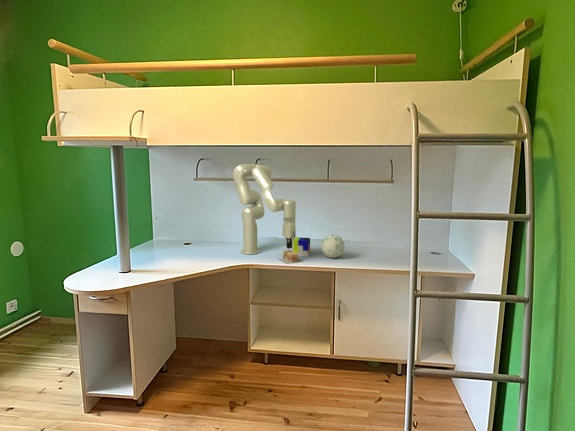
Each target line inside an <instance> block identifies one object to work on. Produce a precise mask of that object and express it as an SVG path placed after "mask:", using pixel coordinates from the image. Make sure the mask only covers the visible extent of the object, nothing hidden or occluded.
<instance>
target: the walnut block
mask: <svg viewBox="0 0 575 431" xmlns="http://www.w3.org/2000/svg"><path fill="white" fill-rule="evenodd" d="M282 259H286V260H287V261H289V262H291V263H290V264H293V263H292V262H297V263H299V262H298V259H299V255H298V253H296V252H294V251H293V250H292V249H288V250H287V249H286V250H285V249H284V250H283V251H282Z"/></svg>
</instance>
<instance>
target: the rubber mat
mask: <svg viewBox="0 0 575 431" xmlns="http://www.w3.org/2000/svg"><path fill="white" fill-rule="evenodd" d="M278 260H279V261H280V262H282V263H284V264H286V265H289V264H295V263H303V262H305V260H302V259H301V258H298V262H292V263H291V262H289V261H287V260H286V259H284V258H279V259H278Z"/></svg>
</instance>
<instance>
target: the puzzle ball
mask: <svg viewBox="0 0 575 431" xmlns="http://www.w3.org/2000/svg"><path fill="white" fill-rule="evenodd" d="M320 246H321V251H322V253H323V254H324V255H325V256H326V257H328V258H331V259H335V258H338V257H339V256H341V255H342V254H343V253H344V251H345V242H344V240H343V239H342V237H341V236H339V235H338V234H329V235H326V236H325V237H324V238H323V239H322V240H321V244H320Z"/></svg>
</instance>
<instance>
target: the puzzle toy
mask: <svg viewBox="0 0 575 431" xmlns="http://www.w3.org/2000/svg"><path fill="white" fill-rule="evenodd" d="M292 251H294V252H296V253H298V256H308V257H309V254H310V252H311V238H310V237H301V236H296V237H295V238H294V240H293V242H292Z"/></svg>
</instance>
